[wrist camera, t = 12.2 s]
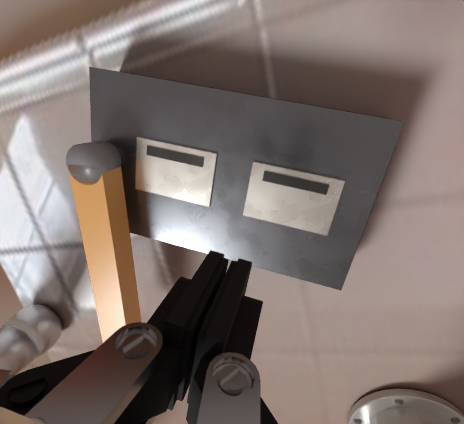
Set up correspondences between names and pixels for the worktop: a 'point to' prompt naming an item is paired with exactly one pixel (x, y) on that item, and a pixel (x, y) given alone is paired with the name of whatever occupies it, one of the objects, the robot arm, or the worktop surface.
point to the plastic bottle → (27, 336)
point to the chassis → (244, 172)
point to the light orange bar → (105, 232)
